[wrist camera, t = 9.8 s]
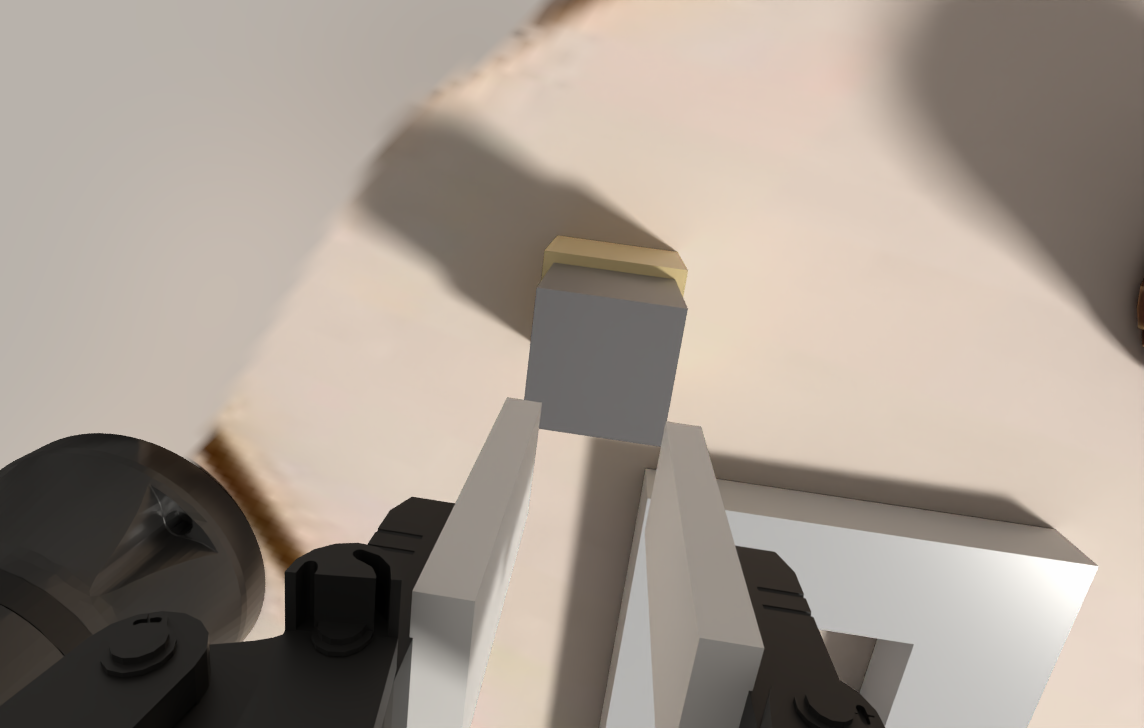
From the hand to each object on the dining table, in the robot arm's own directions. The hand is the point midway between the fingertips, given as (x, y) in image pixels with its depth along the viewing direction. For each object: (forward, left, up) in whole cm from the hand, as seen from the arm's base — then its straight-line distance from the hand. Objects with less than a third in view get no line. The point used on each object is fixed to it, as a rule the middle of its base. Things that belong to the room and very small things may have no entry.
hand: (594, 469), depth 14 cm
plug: (0, 0, -17) cm, 17 cm away
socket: (+13, -21, -17) cm, 30 cm away
